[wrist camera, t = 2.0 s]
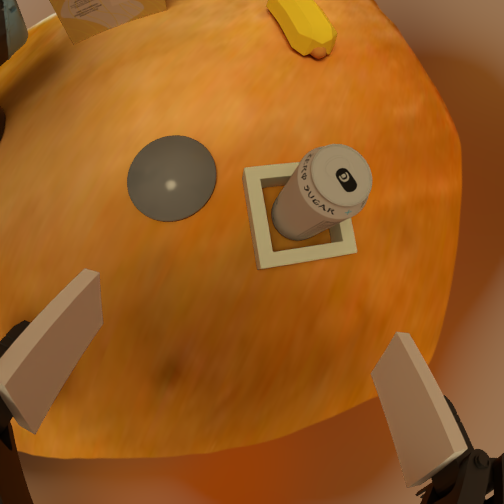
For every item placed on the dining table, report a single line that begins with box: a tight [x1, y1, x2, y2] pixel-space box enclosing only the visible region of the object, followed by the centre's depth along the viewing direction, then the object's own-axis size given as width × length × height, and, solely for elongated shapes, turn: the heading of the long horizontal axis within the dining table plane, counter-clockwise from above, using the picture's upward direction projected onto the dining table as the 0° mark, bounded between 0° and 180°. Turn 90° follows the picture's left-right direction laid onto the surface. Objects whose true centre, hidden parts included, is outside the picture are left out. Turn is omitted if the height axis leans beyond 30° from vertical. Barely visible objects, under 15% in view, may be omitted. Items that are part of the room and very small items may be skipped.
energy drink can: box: [271, 144, 372, 240], centre depth 27 cm, size 6×6×15 cm
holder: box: [242, 162, 357, 270], centre depth 33 cm, size 11×11×4 cm
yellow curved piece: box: [266, 0, 337, 59], centre depth 34 cm, size 18×7×8 cm
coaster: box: [127, 136, 216, 222], centre depth 33 cm, size 11×11×1 cm
